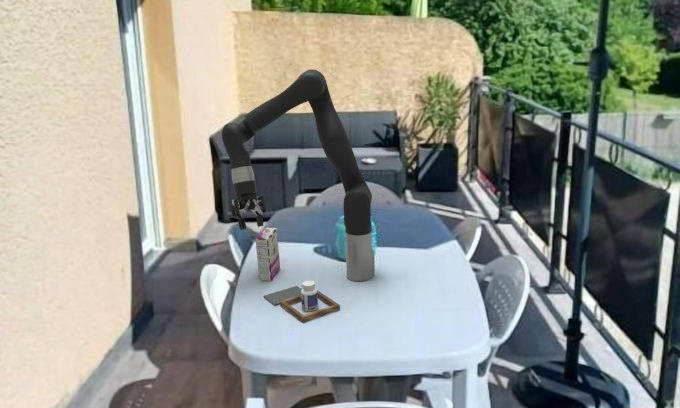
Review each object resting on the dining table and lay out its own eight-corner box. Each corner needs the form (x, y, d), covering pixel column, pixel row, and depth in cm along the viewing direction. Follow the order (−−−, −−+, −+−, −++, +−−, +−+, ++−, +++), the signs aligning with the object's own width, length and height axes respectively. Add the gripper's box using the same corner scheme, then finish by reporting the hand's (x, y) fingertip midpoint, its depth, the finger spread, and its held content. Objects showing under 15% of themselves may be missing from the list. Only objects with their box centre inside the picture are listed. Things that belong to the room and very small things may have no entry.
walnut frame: (316, 294, 218) (316, 289, 217) (340, 309, 207) (339, 304, 206) (280, 306, 210) (280, 301, 210) (302, 322, 199) (302, 317, 199)
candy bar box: (267, 268, 240) (264, 226, 235) (280, 269, 239) (277, 227, 234) (258, 281, 229) (254, 238, 224) (271, 282, 228) (268, 238, 223)
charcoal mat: (296, 287, 224) (296, 285, 223) (308, 295, 217) (308, 293, 217) (263, 297, 217) (263, 295, 217) (274, 306, 210) (274, 304, 210)
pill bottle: (320, 305, 210) (319, 280, 207) (314, 312, 205) (313, 287, 203) (305, 303, 212) (304, 278, 209) (299, 310, 207) (297, 285, 204)
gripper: (236, 180, 212) (245, 229, 212) (265, 177, 224) (274, 224, 223) (221, 184, 217) (229, 232, 216) (250, 181, 228) (258, 226, 228)
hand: (252, 227), depth 220 cm, fingers open, 8 cm apart
